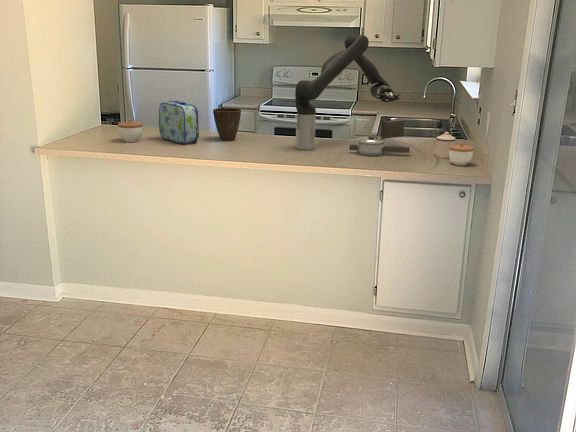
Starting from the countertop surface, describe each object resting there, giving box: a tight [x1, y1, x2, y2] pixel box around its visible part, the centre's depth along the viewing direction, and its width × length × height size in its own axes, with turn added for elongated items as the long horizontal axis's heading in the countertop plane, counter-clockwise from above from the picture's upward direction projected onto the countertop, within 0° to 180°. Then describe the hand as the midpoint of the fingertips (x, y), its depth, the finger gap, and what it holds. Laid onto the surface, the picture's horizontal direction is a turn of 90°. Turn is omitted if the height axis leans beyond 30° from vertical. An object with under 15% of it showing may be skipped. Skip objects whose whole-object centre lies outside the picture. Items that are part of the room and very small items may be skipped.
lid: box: [356, 119, 405, 144], centre depth 287 cm, size 26×14×9 cm, turn 121°
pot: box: [348, 141, 411, 157], centre depth 286 cm, size 28×13×6 cm, turn 96°
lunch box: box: [158, 100, 200, 145], centre depth 307 cm, size 26×11×21 cm, turn 42°
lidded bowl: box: [117, 119, 144, 143], centre depth 307 cm, size 13×13×11 cm
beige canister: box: [434, 131, 457, 159], centre depth 283 cm, size 12×9×12 cm
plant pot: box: [212, 107, 242, 142], centre depth 314 cm, size 15×15×16 cm
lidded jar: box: [448, 142, 474, 166], centre depth 267 cm, size 11×11×9 cm
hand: (391, 99), depth 294 cm, fingers closed
